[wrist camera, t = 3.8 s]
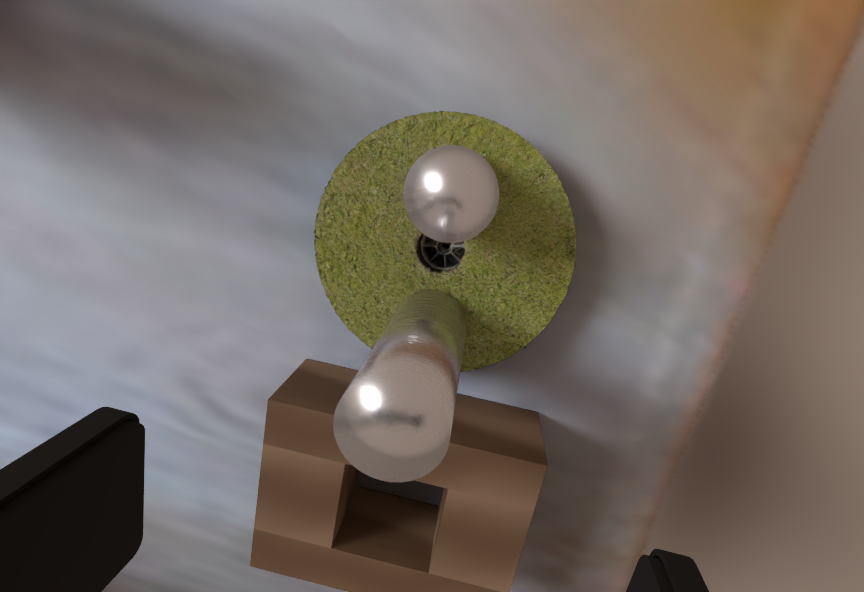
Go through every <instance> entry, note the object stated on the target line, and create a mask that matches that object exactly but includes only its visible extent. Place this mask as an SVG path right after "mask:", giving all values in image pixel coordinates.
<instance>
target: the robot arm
mask: <svg viewBox="0 0 864 592" xmlns="http://www.w3.org/2000/svg"><path fill="white" fill-rule="evenodd" d="M144 454H145V428H144V426H143V425H142V424H140V423H139V418H138V416H137V415H135V414H133V413H130V412H126V411H122V410H118V409H114V408H110V407H102V408H99V409H97V410H96V411H94V412H92V413H91V414H89V415H88V416H86V417H84V418H83V419H81V420H79V421H78V422H76V423H75V424H73V425H71V426H70V427H68V428H67V429H65V430H63V431H62V432H60V433H59V434H57V435H55V436H54V437H52V438H50V439H49V440H47V441H46V442H44V443H42V444H41V445H39V446H38V447H36V448H34V449H33V450H31V451H30V452H28V453H26V454H25V455H23V456H21V457H20V458H18V459H17V460H15V461H13V462H12V463H10V464H9V465H7V466H5V467H4V468H2V469H1V470H0V592H101V591H102V590H103V589H104V588H105V587H106V586H107V585H108V584H109V583H110V582H111V581H112V580H113V578H114V577H115V576H116V575H117V574H118V573H119V572H120V571H121V570H122V569H123V568H124V567H125V565H126V564H127V563H128V562H129V561H130V560H131V559H132V558H133V557H134V555H135V554H136V552H137V551H138V549H139V547H140V545H141V542H142V538H143V507H144ZM626 592H709V591H708V589H707V586H706V585H705V582H704V580H703V578H702V576H701V574H700V572H699V570H698V567H697V565H696V564H695V562H694V561H693V559H691V558H690V557H687V556H684V555H680V554H676V553H672V552H668V551H664V550H660V549H654V550H653V551H652V552H651V554H650V556H648V555H642V556H641V557H640V559H639V561H638V563H637V566H636V568H635V571H634V573H633V576H632V578H631V581H630V583H629V586H628V588H627V591H626Z"/></svg>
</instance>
